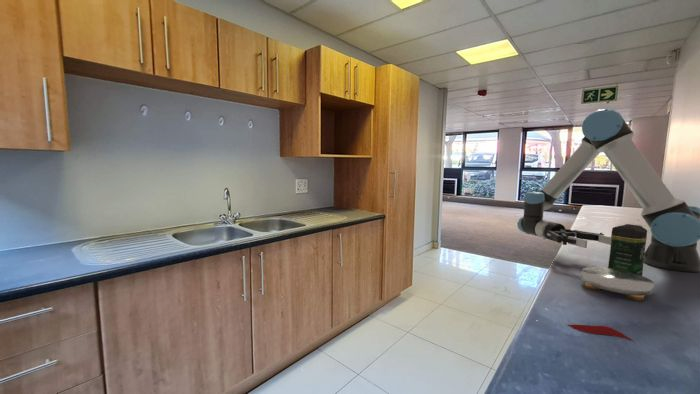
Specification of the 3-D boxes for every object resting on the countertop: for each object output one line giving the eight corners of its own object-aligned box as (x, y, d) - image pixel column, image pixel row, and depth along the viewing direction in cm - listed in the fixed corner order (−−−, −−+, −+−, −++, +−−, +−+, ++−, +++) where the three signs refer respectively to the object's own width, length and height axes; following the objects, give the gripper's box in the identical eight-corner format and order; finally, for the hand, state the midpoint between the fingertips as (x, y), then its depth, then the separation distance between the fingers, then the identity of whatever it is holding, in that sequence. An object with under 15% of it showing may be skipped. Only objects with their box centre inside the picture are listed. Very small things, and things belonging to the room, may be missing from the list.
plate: (608, 278, 97) (609, 265, 97) (668, 299, 81) (669, 284, 81) (567, 282, 94) (568, 268, 94) (621, 304, 79) (623, 288, 78)
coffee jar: (635, 287, 90) (641, 228, 88) (603, 279, 97) (608, 224, 95) (645, 281, 95) (651, 225, 93) (614, 273, 102) (619, 221, 100)
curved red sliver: (635, 339, 63) (635, 331, 63) (635, 349, 60) (636, 340, 60) (566, 320, 71) (567, 312, 71) (563, 327, 68) (564, 320, 68)
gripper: (574, 238, 126) (630, 252, 105) (524, 240, 121) (571, 255, 100) (576, 221, 125) (632, 231, 104) (525, 223, 121) (573, 234, 100)
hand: (602, 243), depth 102 cm, fingers open, 13 cm apart
